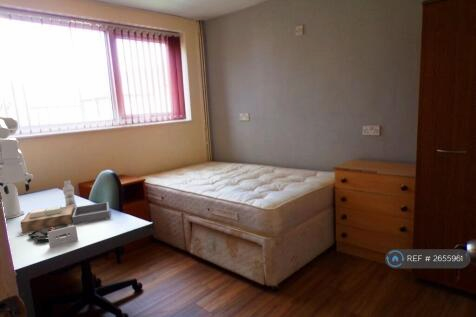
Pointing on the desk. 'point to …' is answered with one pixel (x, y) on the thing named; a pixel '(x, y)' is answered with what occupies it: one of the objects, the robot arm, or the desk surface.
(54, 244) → the cassette
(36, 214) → the tile cream
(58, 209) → the tile sage
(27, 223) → the wooden block
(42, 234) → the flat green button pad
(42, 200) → the desk surface
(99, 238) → the desk surface
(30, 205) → the desk surface
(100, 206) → the bin
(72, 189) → the plastic bottle
